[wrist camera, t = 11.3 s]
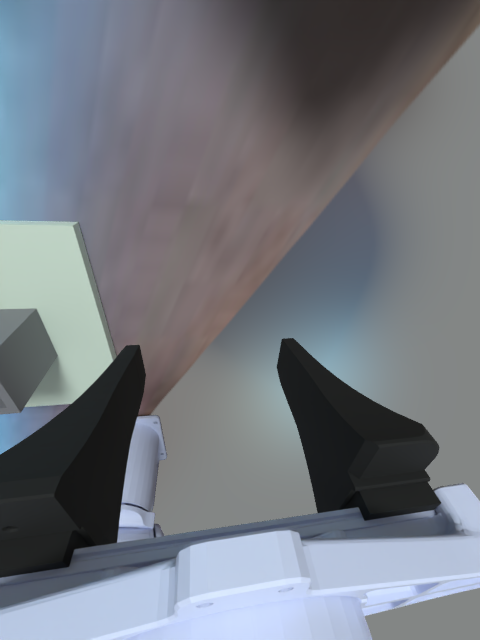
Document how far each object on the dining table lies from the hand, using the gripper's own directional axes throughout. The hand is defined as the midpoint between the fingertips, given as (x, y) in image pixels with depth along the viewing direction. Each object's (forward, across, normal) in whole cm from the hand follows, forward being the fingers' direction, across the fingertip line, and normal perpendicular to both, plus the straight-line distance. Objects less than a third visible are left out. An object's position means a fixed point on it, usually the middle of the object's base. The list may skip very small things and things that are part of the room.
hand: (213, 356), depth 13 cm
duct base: (+10, +16, +5) cm, 20 cm away
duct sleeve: (+9, +16, +5) cm, 19 cm away
